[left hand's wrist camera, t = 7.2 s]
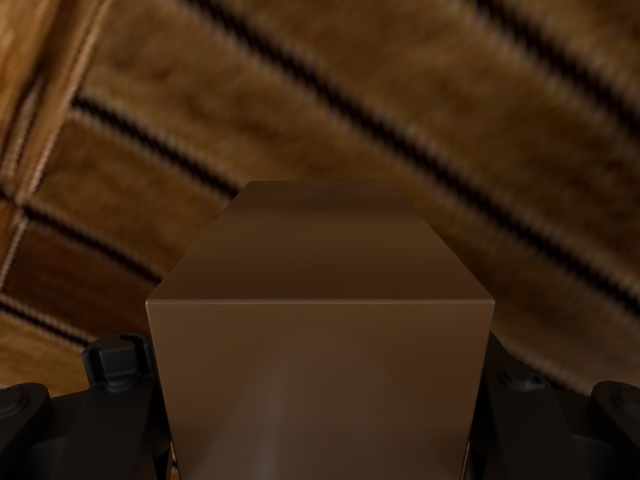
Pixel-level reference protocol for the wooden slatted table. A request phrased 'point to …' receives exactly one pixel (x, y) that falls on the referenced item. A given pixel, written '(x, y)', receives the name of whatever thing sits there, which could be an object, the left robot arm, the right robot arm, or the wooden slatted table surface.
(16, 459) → the left robot arm
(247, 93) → the wooden slatted table surface
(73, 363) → the wooden slatted table surface
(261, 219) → the bar
